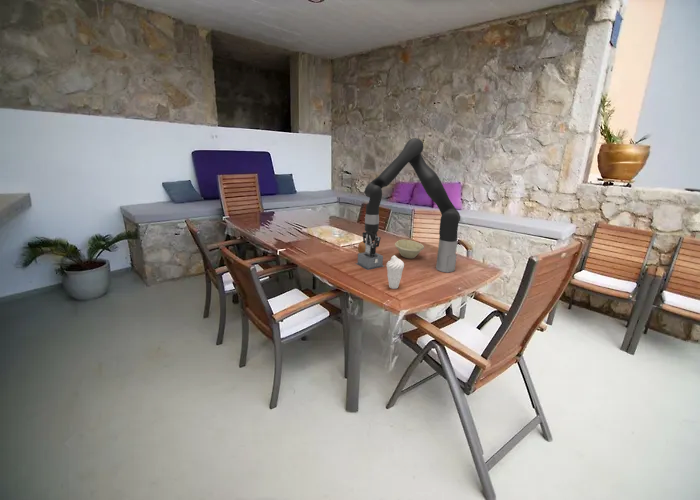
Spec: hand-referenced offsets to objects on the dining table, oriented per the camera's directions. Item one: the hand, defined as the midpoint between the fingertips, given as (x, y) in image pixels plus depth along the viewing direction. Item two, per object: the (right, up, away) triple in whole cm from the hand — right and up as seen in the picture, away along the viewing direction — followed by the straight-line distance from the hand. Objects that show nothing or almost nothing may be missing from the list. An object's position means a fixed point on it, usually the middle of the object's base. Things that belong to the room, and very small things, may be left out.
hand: (370, 252), depth 177 cm
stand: (0, -8, +2) cm, 8 cm away
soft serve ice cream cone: (+9, -17, -24) cm, 31 cm away
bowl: (+25, -3, +22) cm, 33 cm away
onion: (-2, -3, +21) cm, 21 cm away
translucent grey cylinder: (0, -7, +2) cm, 7 cm away
